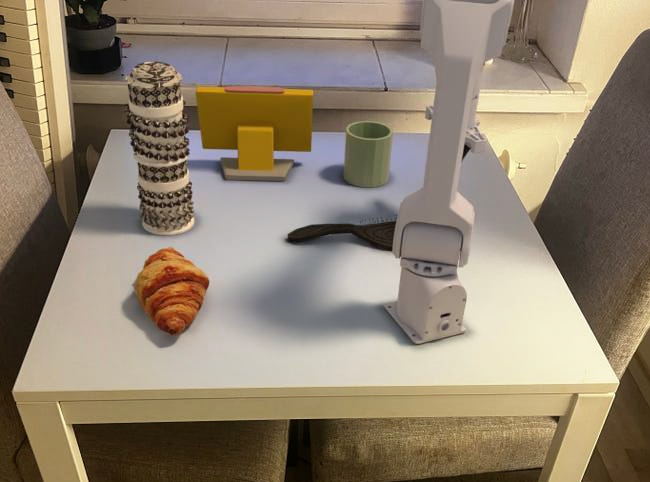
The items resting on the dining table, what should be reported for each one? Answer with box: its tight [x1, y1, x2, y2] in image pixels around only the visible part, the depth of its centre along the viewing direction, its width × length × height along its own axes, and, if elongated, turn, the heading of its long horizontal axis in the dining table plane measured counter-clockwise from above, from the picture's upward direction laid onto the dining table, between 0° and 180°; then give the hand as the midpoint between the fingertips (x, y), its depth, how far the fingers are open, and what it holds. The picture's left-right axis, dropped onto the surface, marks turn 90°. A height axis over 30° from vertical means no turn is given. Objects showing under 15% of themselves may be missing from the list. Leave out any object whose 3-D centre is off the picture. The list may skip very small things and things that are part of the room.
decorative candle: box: [124, 61, 195, 236], centre depth 117 cm, size 9×9×25 cm
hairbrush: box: [287, 214, 398, 252], centre depth 122 cm, size 8×4×25 cm
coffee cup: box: [343, 120, 394, 188], centre depth 138 cm, size 8×8×9 cm
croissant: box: [134, 246, 210, 336], centre depth 106 cm, size 21×10×8 cm, turn 12°
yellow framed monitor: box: [195, 85, 314, 182], centre depth 136 cm, size 20×8×16 cm, turn 91°
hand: (447, 178), depth 122 cm, fingers closed
